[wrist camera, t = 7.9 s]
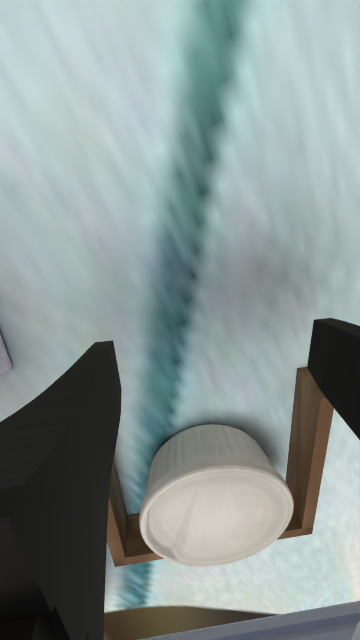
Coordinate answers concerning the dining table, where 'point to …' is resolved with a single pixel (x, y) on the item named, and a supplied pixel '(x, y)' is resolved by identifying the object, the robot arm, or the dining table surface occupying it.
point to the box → (301, 476)
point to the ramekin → (213, 498)
